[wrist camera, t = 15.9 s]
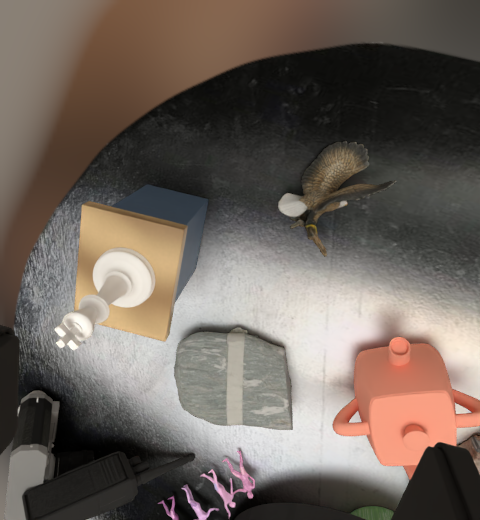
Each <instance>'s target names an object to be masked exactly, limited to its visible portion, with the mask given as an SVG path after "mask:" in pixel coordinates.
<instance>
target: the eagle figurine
mask: <svg viewBox="0 0 480 520" xmlns="http://www.w3.org/2000/svg"><path fill="white" fill-rule="evenodd" d="M366 154H367V149H366V148H364V145H362V144H359V145H357V143H356V142H351V143H349V144H347V142H346V141H344V142H342V143H341V142H336V143H333V144H332V145H329V146H328V147H327V148H325V149H324V150H323V152H322V153H320V155H318V157H317V159H315V160H314V162H313V163H312V164H311V166H309V167H308V168H307V169H306V170H305V172H304V174H303V177H302V178H301V180H302V182H301V184H302V185H303V186H302V188H303V189H304V191H303V194H304V196H299V195H294V194H290V193H287V194H285V195H283V197H282V198H281V200H280V201H279V202H278V204H279V205H278V208H279V210H280V211H281V212H282V213H283V214H285V215H287V216H290V219H291V220H294V221H296V223H294V224H292V225H291V226H290V229H293V228H295V227H297V226H302V227H304V226H305V228H306V230H307V234H308V239H309V240H313V241H314V243H315V244H316V245H317V246H318V248H319V249H320V251H321V253H322V254H323V255H324V257H326V256H327V252H326V248H325V247H324V245H323V244H322V243H321V240H320V239H319V238H318V235H317V228H316V224H317V223H318V218H319V217H320V215H322V214H323V213H324V212H326V211H333V210H335V209H337V208H340V207H343V206H346V205H347V201H350V200H359V199H364V198H365V197H368V196H370V195H373V194H375V193H378V192H381V191H384V190H386V189H387V188H389V187H390V186H391V185H393V184H394V183H396V181H390V182H386V183H384V184H380V185H371V184H356V185H353V186H349V187H346V188H343V189H340V190H338V191H337V189H338V188H339V187H340V185H341V184H342V183H343V182H344V181H346V180H347V179H348V178H349V177H351V176H352V175H353V174H355V173H358V172H360V171H361V170H363V169H365V168H366V167H368V166H369V162H368V159H369V156H368V155H366ZM346 200H347V201H346ZM302 213H303V214H302ZM298 216H300V217H298Z"/></svg>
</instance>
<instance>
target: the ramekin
mask: <svg viewBox="0 0 480 520" xmlns="http://www.w3.org/2000/svg"><path fill="white" fill-rule="evenodd" d="M350 514H352V515H355V516H358V517H361V518H363V519H366V520H391V518H392V516H393V514H394V512H393V511H392V510H389V509H387V508H384V507H379V506H366V507H362V508H359V509H356V510H354V511H353V512H351V513H350Z"/></svg>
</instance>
